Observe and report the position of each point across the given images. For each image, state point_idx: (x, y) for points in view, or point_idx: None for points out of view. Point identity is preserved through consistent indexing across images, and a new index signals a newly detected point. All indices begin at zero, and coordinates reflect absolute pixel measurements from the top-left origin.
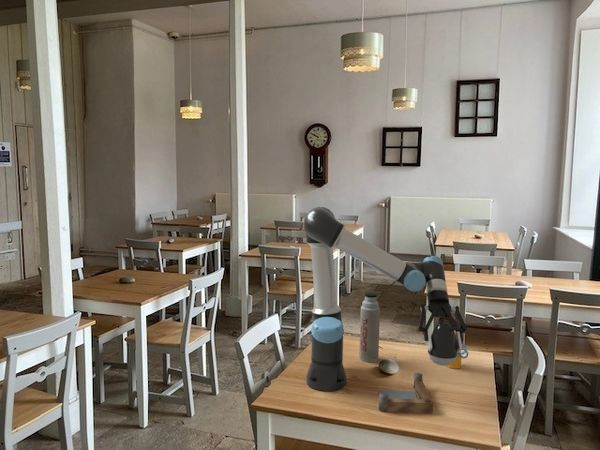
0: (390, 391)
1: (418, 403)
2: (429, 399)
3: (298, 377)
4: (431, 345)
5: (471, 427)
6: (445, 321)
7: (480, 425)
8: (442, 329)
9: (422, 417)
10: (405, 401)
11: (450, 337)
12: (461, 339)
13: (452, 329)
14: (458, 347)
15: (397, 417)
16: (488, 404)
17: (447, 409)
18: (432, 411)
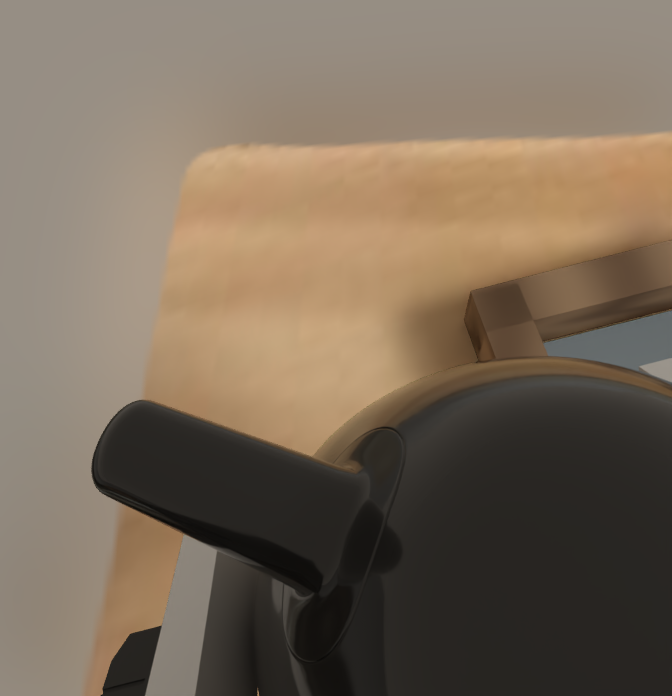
0: None
1: (556, 270)
2: (499, 330)
3: None
4: (669, 379)
5: (269, 247)
6: (622, 643)
7: (224, 279)
8: (595, 365)
9: (511, 261)
10: (638, 257)
11: (370, 406)
12: (151, 647)
13: (314, 459)
14: (246, 566)
15: (636, 221)
16: (134, 545)
17: (385, 393)
18: (466, 314)
